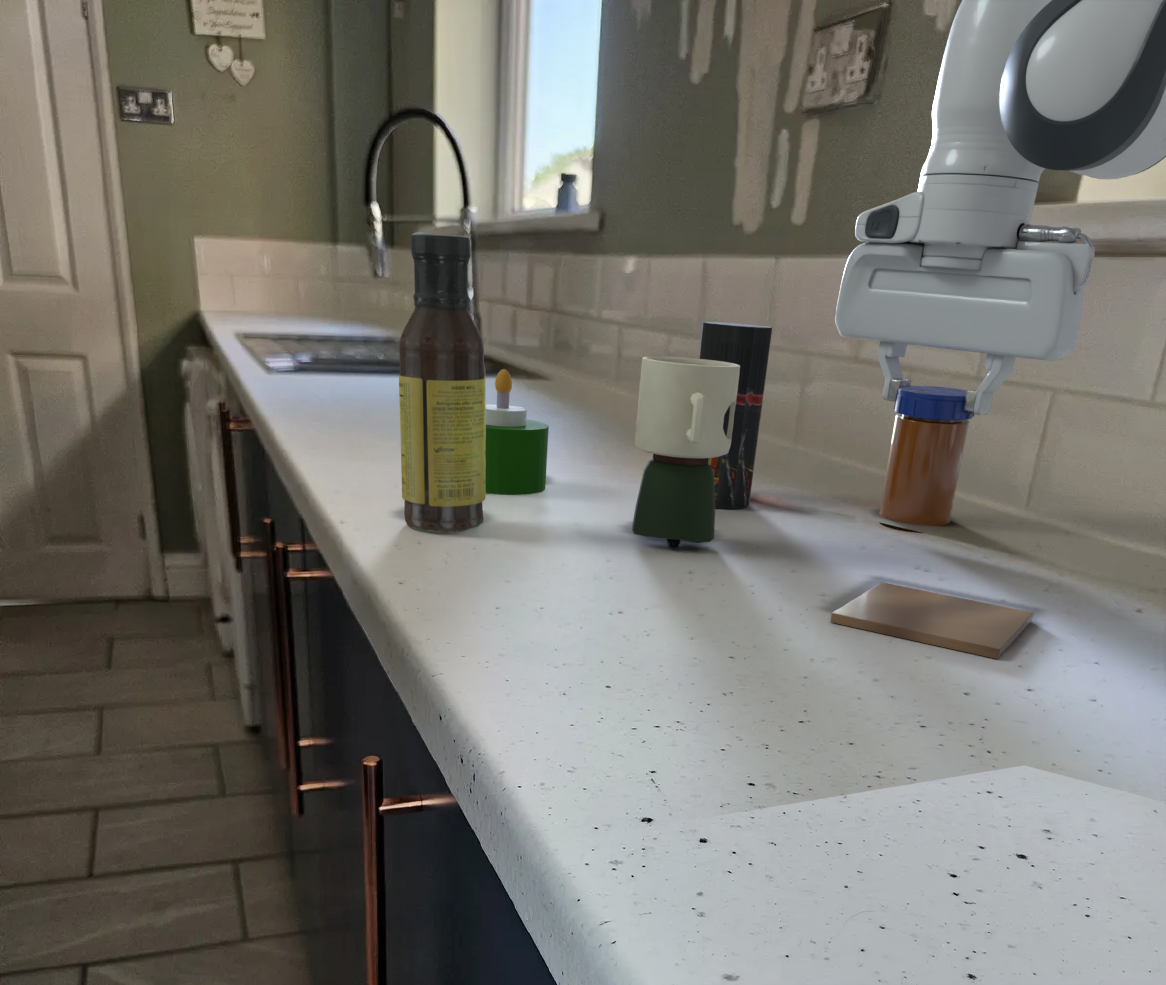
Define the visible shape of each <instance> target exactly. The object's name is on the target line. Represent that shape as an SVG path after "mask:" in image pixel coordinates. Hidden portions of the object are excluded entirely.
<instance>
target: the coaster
mask: <svg viewBox="0 0 1166 985" xmlns="http://www.w3.org/2000/svg"><path fill="white" fill-rule="evenodd" d="M1033 618H1034V612H1033V611H1028V610H1023V609H1018V608H1013V607H1008V606H1003V605H999V604H993V603H988V602H983V601H978V600H973V599H968V598H963V597H958V596H953V595H948V594H944V593H943V594H942V593H937V592H933V591H928V590H923V589H918V588H912V587H907V586H902V585H898V584H892V583H888V582H883V581H882V582H880V583H878V584H876V585H875V586H873V587H871V588H870V589H868V590H866V591H864V592H863V593H862V594H860V595H859V596H857V597H856V598H854V599H852V600H850V601H849V602H846V603H845V604H844V605H842V606H841V607H839V608H838V609H836V610H834V611H832V612H831V614H830V623H833V624H837V625H842V626H846V627H849V628H850V627H851V628H855V629H860V630H864V631H869V632H873V633H878V634H881V635H887V636H890V637H897V638H901V639H905V640H909V641H914V642H919V643H923V644H927V645H931V646H935V647H936V646H937V647H940V648H946V649H949V650H954V651H958V652H963V653H968V654H972V655H977V656H981V657H987V658H991V659H994V660H995V659H996V660H998V659H999V658H1000V657H1001V655H1003V653H1004V652H1005V651H1006V650H1007V649H1008V648H1009V647H1010V646H1011V644H1012V643H1014V642H1015V640H1016V639H1017V638H1018V637H1019V635H1021V634H1022V632H1023V631H1024V630H1026V628H1027V627H1028V626H1029V625H1030V624H1031V623H1032V622H1033Z"/></svg>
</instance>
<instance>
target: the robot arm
mask: <svg viewBox="0 0 1166 985" xmlns="http://www.w3.org/2000/svg"><path fill="white" fill-rule="evenodd" d="M944 48H945V49H944V53H943V56H942V61H941V66H940V69H939V74H938V77H937V78H938V79H937V84H936V88H935V94H934V99H933V103H932V110H931V121H932V123H931V124H932V137H931V144H930V145H931V146H930V148H929V151H928V154H927V157H926V159H925V162H924V163H923V165H922V168H921V171H920V176H919V182H918V188H917V191H914V192H911V193H909V194H907V195H904V196H902V197H899V198H897V199H894V200H892V201H888V202H886V203H884V204H881V205H878V206H875V207H873V208H869V209H867V210H865V211H863V212H861V213H860V214H859V215H858V216H857V219H856V222H855V227H854V236H855V238H856V239H857V240H858V241H860V242H863V243H861V244H858V245H857V246H856V247H855V248H854V249H853V250H852V252H851V253H850V255H849V256H848V258H847V261H846V264H845V267H844V270H843V275H842V278H841V283H840V287H839V292H838V296H837V303H836V309H835V317H834V322H835V326H836V328H837V331H838V333H839V335H840V337H843V338H851V339H859V340H866V341H867V340H869V341H875V342H876V341H877V342H879V345H878V349H877V355H876V356H877V358H878V362H879V366H880V368H881V371H882V374H883V378H884V379H885V380H884V386H883V391H882V399H883V400H884V401H887V402H892V403H893V402H894V403H895V399H896V394H897V393H898V388H899V387H901V386H912V385H911V384H912V380H911V379H905V378H904V375H903V370H902V366H901V361H900V358H904V357H905V356H906V352H907V347H908V345H910V346H917V347H918V346H920V347H926V348H927V347H928V348H936V349H942V350H943V349H944V350H952V351H953V350H954V351H959V352H960V351H961V352H971V353H979V354H986V358H985V361H984V366H983V367H984V370H989V372H988V373H987V375H986V376H985V377H984V379H983V380H982V382H980V384H979V386H978V387H977V389H966V390H967V392H966V396H965V400H966V402H965V404H964V406H963V411H964V413H970V414H974V415H977V416H987V415H988V414H989V412H990V411H991V407H992V403H993V398H994V393H996V392H997V391H998V390H999V389H1000V387H1001V386H1002V385H1003V383H1004V382H1005V381H1006V380H1007V378H1009V376H1010V375H1011V373H1012V372H1013V370H1014V366H1015V361H1016V358H1021V359H1030V360H1038V361H1046V362H1047V361H1051V362H1054V361H1056V362H1057V361H1062V360H1064V359H1065V358H1066V357H1067V356H1068V355H1069V354H1070V353H1071V352H1072V351H1074V349H1075V347H1076V344H1077V340H1078V336H1079V330H1080V325H1081V318H1082V310H1083V304H1084V289H1085V285H1086V283H1087V282H1088V280H1089V278H1090V276H1091V273H1092V272H1091V271H1092V268H1093V264H1094V259H1095V254H1096V253H1095V246H1094V244H1093V241H1092V239H1091V238H1090V237H1089V236H1088V235H1087V234H1085V233H1082V229H1081V228H1080V227H1077V226H1072V225H1064V226H1061V227H1059V226H1058V227H1057V226H1050V225H1044V224H1043V225H1042V224H1031V220H1032V216H1033V211H1034V207H1035V203H1036V198H1037V193H1038V188H1039V183H1040V179H1041V175H1042V173H1043V172H1044V170H1051V171H1064V172H1065V171H1067V172H1068V171H1069V172H1071V173H1074V174H1077V175H1080V176H1085V177H1088V178H1092V179H1097V180H1108V181H1109V180H1119V179H1122V178H1128V177H1130V176H1135V175H1138V174H1140V173H1143V172H1145V171H1147V170H1149V169H1151V168H1153V167H1154V166H1156V165H1157V164H1159V163H1160V162H1161V161H1163V160H1164V159H1165V158H1166V0H961V2H960V4H959V6H958V8H957V10H956V13H955V16H954V18H953V21H952V24H951V27H950V31H949V33H948V37H947V41H946V45H945V47H944ZM1079 241H1082V242H1083V243H1078V242H1079Z"/></svg>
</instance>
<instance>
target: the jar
mask: <svg viewBox="0 0 1166 985" xmlns="http://www.w3.org/2000/svg"><path fill="white" fill-rule="evenodd" d="M969 428H970V420H969V419H968V420H934V419H924V418H917V417H911V416H906V415H902V414H898V413H897V414H896V415H895V418H894V425H893V430H892V436H891V443H890V449H889V455H888V460H887V466H886V471H885V472H886V473H885V480H884V484H883V490H882V491H883V492H882V497H881V503H880V509H879V515H880V516H881V517H882V518H885V519H888V520H891V521H896V522H898V523H899V522H900V523H905V524H912V525H921V526H946V525H948V524H950V523H951V518H952V514H953V508H954V503H955V498H956V493H957V488H958V484H959V478H960V472H961V467H962V464H963V463H962V461H963V459H964V458H963V457H964V452H965V448H966V442H967V437H968V432H969ZM878 523H879V524H880V525H881V526H883V527H885V528H888V529H891V530H896V531H900V532H905V533H906V532H907V533H912V534H913V533H915V534H924V532H922V531H918V530H915V529H909V528H906V527H901V526H897V525H896V526H895V525H892V524H888V523H884V522H878Z"/></svg>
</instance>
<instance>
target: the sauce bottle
mask: <svg viewBox="0 0 1166 985" xmlns="http://www.w3.org/2000/svg"><path fill="white" fill-rule="evenodd" d="M410 245H411V246H410V250H411V251H410V254H411V256H412V259H413V271H414V275H413V276H414V294H413V296H412V298H413V301H414V302H413V305H414V309H413V312H412V313H411V315H410V317H409V319H408V321H407V323H406V324H405V326H404V328H403V330H402V333H401V335H400V339H399V343H398V344H399V345H398V353H399V354H398V355H399V374H398V394H399V395H398V396H399V429H400V430H399V432H400V464H401V465H400V466H401V467H400V468H401V497H402V500H404V505H403V506H404V513H403V514H404V522H405V523H406V526H407V527H409V528H411V529H413V530H417V531H422V532H429V533H459V532H465V531H468V530H472V529H474V528H478V527H480V526H481V525H482V524H483V523H484V519H485V518H484V510H483V502H484V501H485V500H486V493H485V470H486V405H487V404H486V402H487V401H486V398H487V397H486V366H485V362H484V361H485V358H484V357H485V346H484V340H483V337H482V335H481V333H480V330H479V329H478V327H477V325H476V323H475V322H474V319H473V317H472V316H471V314H470V311H469V308H470V306H469V303H470V296H469V290H468V289H469V287H468V284H469V272H468V269H469V268H468V267H469V266H468V265H469V262H470V259H471V256H472V254H471V239H470V237H469V236H467V235H457V234H445V233H444V234H443V233H431V232H422V231H416V232H414V233H412V234H411V235H410Z"/></svg>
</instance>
